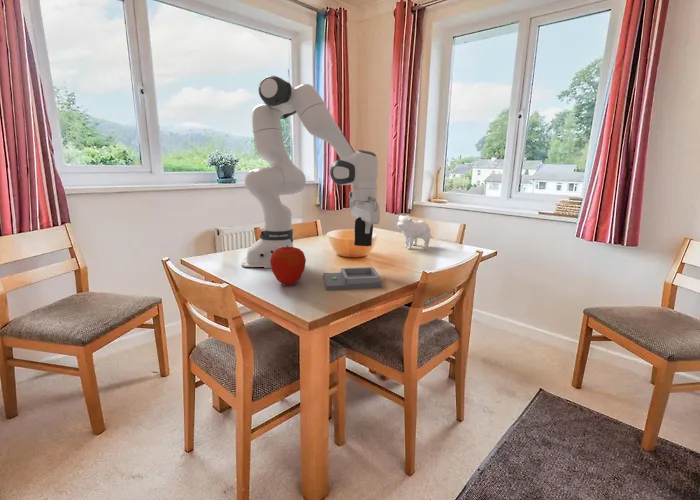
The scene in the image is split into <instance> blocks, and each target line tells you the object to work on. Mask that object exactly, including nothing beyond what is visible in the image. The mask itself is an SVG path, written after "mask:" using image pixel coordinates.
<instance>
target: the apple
mask: <svg viewBox="0 0 700 500" xmlns="http://www.w3.org/2000/svg"><path fill="white" fill-rule="evenodd" d="M306 262H307V258H306V256H305V253H304V251H303V250H302V249H300V248H297V247H295V246H293V247H288V245H287V247H281V248H278V249H276V250H275V251H274V252H273V253H272V256H271V260H270V263H271V268H270V269H271V271H272V273H273V275H274V277H275V279H276V280H277V282H279V283H280V284H281V285H282V286H284V285H286V286H285V287H290V285H291V286H293V285H296V283H297V282H299V281H300V280H301V278H302V276H303V273H304V272H305V267H306Z"/></svg>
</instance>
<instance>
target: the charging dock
mask: <svg viewBox="0 0 700 500" xmlns="http://www.w3.org/2000/svg"><path fill="white" fill-rule="evenodd" d="M322 278H323V281H324V285H325V289H326V291H338V290H340V291H342V290H360V289H361V290H363V289H383V283H382V281H381V278H382V277H381V276H380V274H379V273H378V271H377V270H376V269H375V267H372V266H365V267H363V266H362V267H342V268H340V272H324V273H322Z"/></svg>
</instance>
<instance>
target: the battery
mask: <svg viewBox="0 0 700 500" xmlns="http://www.w3.org/2000/svg"><path fill="white" fill-rule="evenodd" d="M365 226H366V225H365V221H362V220H361V217H359V216H358V217H356V218H355V220H354V246H357V247H372V243H373V231H374V224H372V226H371V228H370V233H369V234H366V233H364V228H365Z"/></svg>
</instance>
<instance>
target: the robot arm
mask: <svg viewBox="0 0 700 500" xmlns="http://www.w3.org/2000/svg"><path fill="white" fill-rule="evenodd" d="M258 94H259V97H260V99H261V100H262V101H263V103H261V104H258V105H256V106H254V108H253V110H252V112H251V113H252V114H251V119H252V120H251V123H252V125H251V126H252V132H253V138H254V144H255V149H256V153H257V155H258V156H259V157H260V158H261V159H262V160H264V161H265V162H267V163H268V165H269V166H270V167H258V168H257V167H256V168H254V169H251V170H249V171H248V172H247V173H246V175H245V177H244V186H245V188H246V190H247V192H248V193H249V194H250V195H252V196H253V197H254V198H256V200H257V201H258V203H259V205H260V206H261V207H260V208H261V210H262V213H263V214H262V215H263V222H264V228H260V229H259V231H258V232H259V239H258V240H257V241H255V242H254V243H253V244H251V245H250V246H249V248H247V252H246V257H244V258H243V259H242V261H241V264H242V265H241V267H243V266H244V267H243V268H245V267H264V268H263V269H272V268H271V263H270V260H271V256H272V253H273V252H274V251H275V250H276V249H278V248H281V247H287V245H288V247H294V229H293V226H292V225H293V223H292V221H293V220H292V211H291V209H290V208H289V207H288V206H287V205H285V204H283V203H282V201H281V199H280V196H286V195H294V194H297V193H300V192H302V191H303V190H304V188H305V187H306V183H307V182H306V181H307V180H306V175H305V173H304V172H303V171H302V170H301V169H300V168H299V167H298V166H296V165H295V164H294V163H293V161H292V159H291V158H290V156H289V154H288V152H287V150H286V147H285V142H284V137H283V136H284V135H283V132H282V125H281V119H282V120H286V119H287V118H289V117H290V116H293V115H295V114H297V115H298V117H299V119H300V122H301V123H302V125H303V127H304V128H305V130H307V132H308V133H309V134H310V135H311V136H314V137H316V138H318V139H320V140H322V141H324V142H326V143H328V144H329V145H330V146H331V147H332V148H333V149H334V151H335V153H337V156H338V157H339V158H340V159H337V160H335V161H333V163H332V164H331V166H330V170H329V171H330V172H329V175H330V178H331V180H332V181H333V183H335V184H337V185H339V186H348V185H349V186H350V185H352V186H353V189H352V190H350V191H349V193H348V198H349V214H350V216H351V217H353V218H355V219H356V217H358V216H359V217H361V220H362V221H365V225H366V226H365V228H364V233H366V234H369V233H370V228H371V226H372V224H373V225H379V224H380V220H381V219H380V218H381V216H380V215H381V213H380V212H381V211H380V204H379V203H378V201H377V198H378V197H377V196H378V186H377V179H378V176H379V175H378V174H379V173H378V172H379V165H378V163H379V162H378V157H377V154H376V153H374V151H373V152H372V151H368V150H362V149H357V150H356V151H355V150H354V148H353V147H352V145H351V143H350V142H349V141H348V139H347V137H346V135H345V134H344V132H343V131H342V130H341V128H340V126H339V125H338V124H337V122H336V120H335V119H334V117H333V115H331V113H330V111H329V109H328V106H327V105H326V103H325V102H324V101H325V100H323V99H322V97H321V95H320V94H319V92H318V91H317V90H316V89H315V87H314V86H312V84H309V83H302V84H300V85H298V86H296V87H294V86H292V84H291V83H289V81H286V80H285V79H283V78H282V77H279V76H276V75H271V74H270V75H266V76H264V77H263V78H262V79H261V80H260V82H259V84H258Z"/></svg>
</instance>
